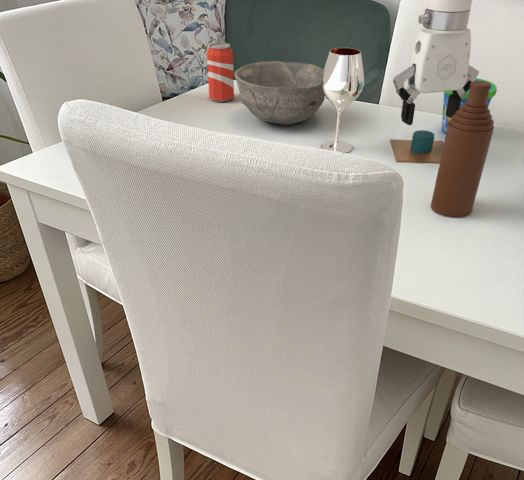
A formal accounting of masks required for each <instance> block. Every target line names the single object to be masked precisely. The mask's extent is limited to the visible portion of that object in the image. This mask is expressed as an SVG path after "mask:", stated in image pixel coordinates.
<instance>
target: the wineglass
mask: <svg viewBox="0 0 524 480" xmlns="http://www.w3.org/2000/svg"><path fill="white" fill-rule="evenodd" d="M363 65H364V64H363V58H362V52H361V50H359V49H358V48H357V49H356V48H351V47H335V48H331V49H330V50H329V52H328V55H327V58H326V60H325V64H324V68H323V69H324V71H323V74H322V79H321V89H322V92H323V94H324V95H325V98H326V99H327V100H328V102H329V103H331V105H332V106H333V107H334V108H335V110H336V113H337V115H336V127H335V136H334V140H330V141H325V142H323V143H321V144H320V149H321V150H322V149H327V150H332V151H338V152H343V153H342V154H347V153H349V152H351V151H352V148H353V145H351V144H350V143H348V142H345V141H340V136H341V135H340V134H341V124H342V123H341V122H342V113H343V112H344V110H345V109H346V108H347V107H348V106H349V105H351V104H352V103H353V102H355V100H357V99H358V98H359V96H360V95H361V94H362V92H363V90H364V86H365V75H364V66H363Z"/></svg>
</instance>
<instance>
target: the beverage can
mask: <svg viewBox="0 0 524 480" xmlns="http://www.w3.org/2000/svg"><path fill="white" fill-rule="evenodd" d="M206 60H207V80H208V81H207V82H208V97H209V99H211V100H212V101H214V102H218V103H225V102H229V101H231V100H232V99H234V98H235V84H234V83H235V80H234V79H235V76H234V52H233V50H232V48H231V44H230V43H228V42H213V43H209V44H208V49H207V50H206Z"/></svg>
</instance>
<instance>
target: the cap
mask: <svg viewBox="0 0 524 480" xmlns="http://www.w3.org/2000/svg"><path fill="white" fill-rule="evenodd" d="M411 140H412V143H411V150H412V151H413V152H415V153H419V154H427V153H430V152H431V151H432V146H433V141H435V133H434V132H432V131H430V130H423V129H421V130H420V129H419V130H415V131H414V132H413V133H412V138H411Z"/></svg>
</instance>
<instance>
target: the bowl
mask: <svg viewBox="0 0 524 480" xmlns="http://www.w3.org/2000/svg"><path fill="white" fill-rule="evenodd" d="M323 71H324V68H323V67H321V66H318V65H315V64H312V63H307V62H304V61H301V62H298V61H287V62H284V61H281V60H268V61H258V62H253V63H248V64H245V65H243V66H240V67H239V68H238V69H236V70H235V71H234V72H233V76H234V79H235V82H236V84H237V88H238V92H239V99H240V102H241V103H242V104H243V105H244V106H245V108H247V109H248V110H249V112H250V113H251V114H252V115H253V116H255V117H257V118H258V119H259V120H262V121H265V122H267V123H271V124H276V125H282V126H291V125H296V124H299V123H302V122H304V121H306V120H308V119H310V118H311V117H313V115H314V114H315V113H316V112H317V111H318V110H319V109H320V108H321V106H322V105H323V103H324V101H325V98H326V97H325V95H324V94H323V92H322V89H321V79H322V74H323Z"/></svg>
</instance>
